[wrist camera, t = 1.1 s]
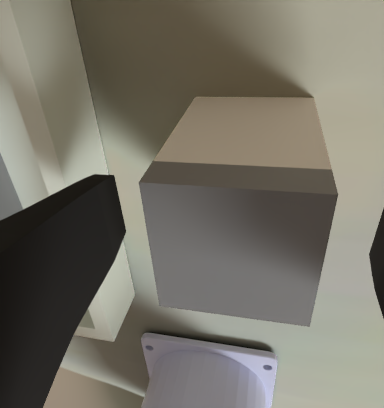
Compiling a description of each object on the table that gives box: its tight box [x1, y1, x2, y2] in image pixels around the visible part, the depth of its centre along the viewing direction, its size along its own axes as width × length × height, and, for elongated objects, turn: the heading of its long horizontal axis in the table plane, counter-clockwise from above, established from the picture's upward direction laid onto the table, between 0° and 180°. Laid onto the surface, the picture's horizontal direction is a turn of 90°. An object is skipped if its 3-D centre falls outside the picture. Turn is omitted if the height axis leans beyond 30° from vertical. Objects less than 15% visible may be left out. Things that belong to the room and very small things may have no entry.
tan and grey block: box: [139, 97, 338, 327], centre depth 10 cm, size 4×4×6 cm
